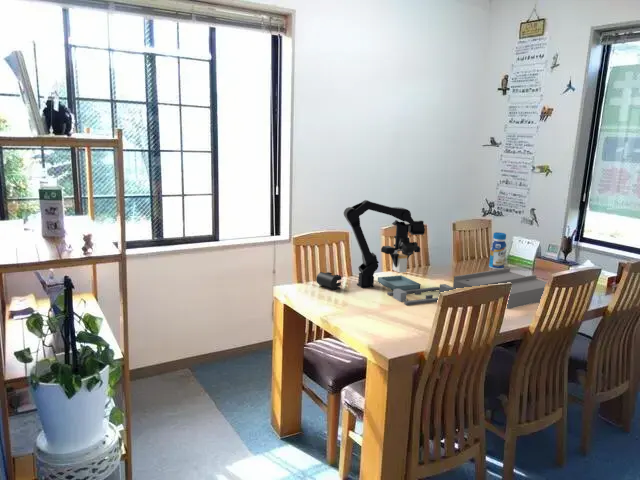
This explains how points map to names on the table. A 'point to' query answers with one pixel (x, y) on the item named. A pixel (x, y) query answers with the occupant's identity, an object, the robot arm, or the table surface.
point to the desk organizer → (522, 286)
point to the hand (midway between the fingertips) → (399, 266)
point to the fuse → (401, 263)
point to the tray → (398, 282)
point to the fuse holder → (402, 294)
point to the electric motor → (328, 280)
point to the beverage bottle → (498, 251)
